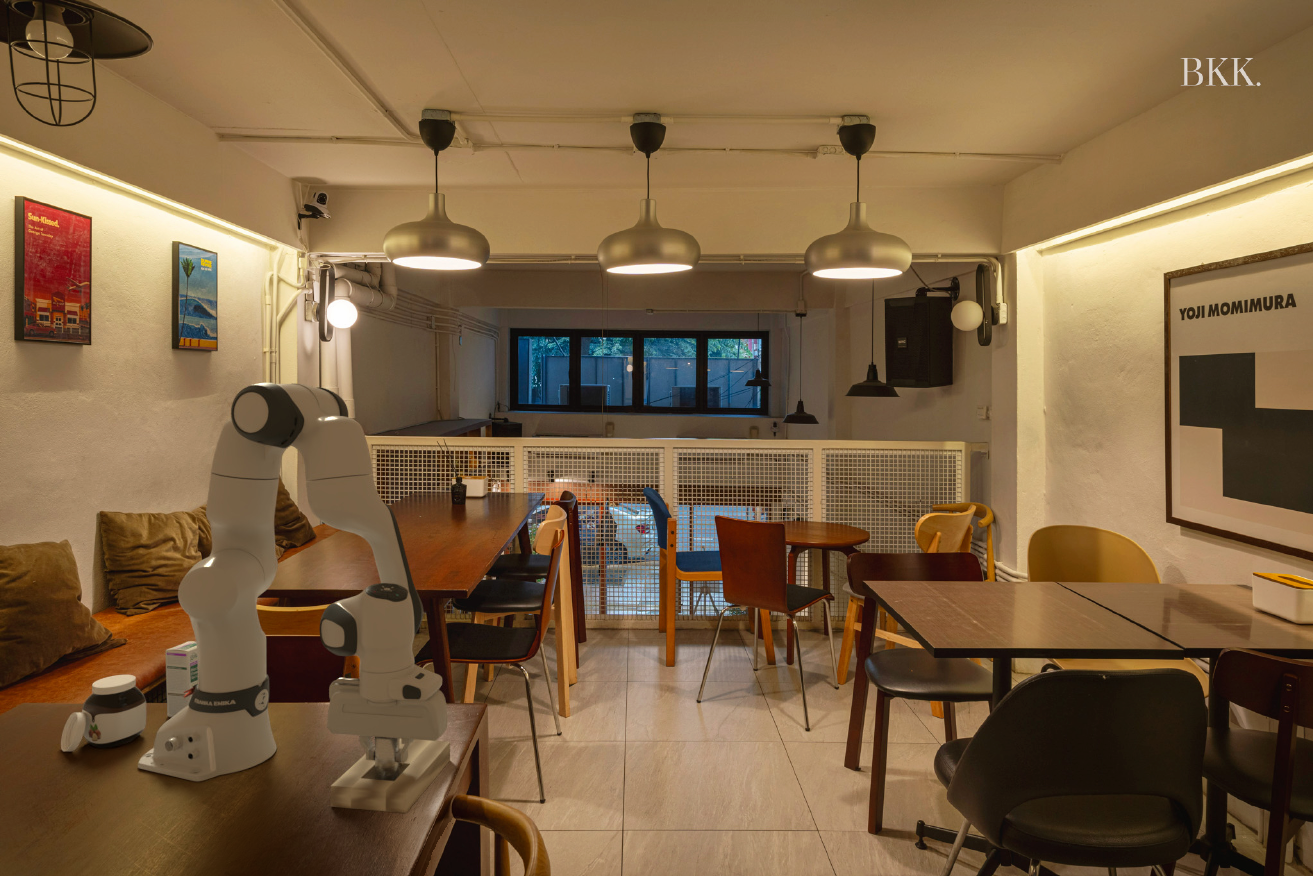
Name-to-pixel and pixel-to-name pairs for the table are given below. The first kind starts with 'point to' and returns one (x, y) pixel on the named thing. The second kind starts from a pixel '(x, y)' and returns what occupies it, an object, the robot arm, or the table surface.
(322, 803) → the table surface
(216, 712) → the robot arm
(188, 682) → the syrup box
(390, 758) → the bushing
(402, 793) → the frame
